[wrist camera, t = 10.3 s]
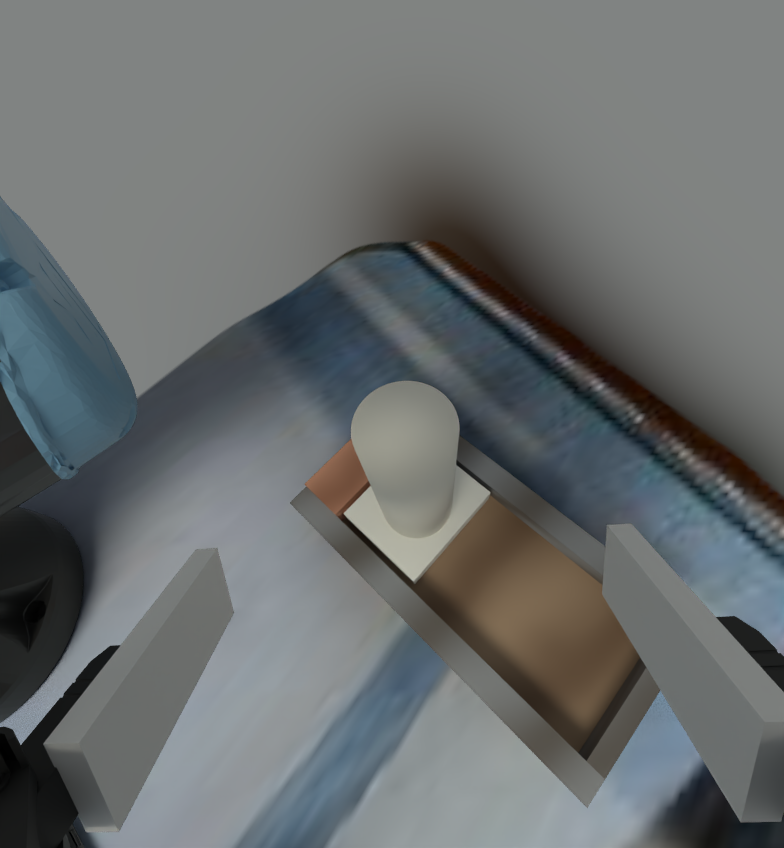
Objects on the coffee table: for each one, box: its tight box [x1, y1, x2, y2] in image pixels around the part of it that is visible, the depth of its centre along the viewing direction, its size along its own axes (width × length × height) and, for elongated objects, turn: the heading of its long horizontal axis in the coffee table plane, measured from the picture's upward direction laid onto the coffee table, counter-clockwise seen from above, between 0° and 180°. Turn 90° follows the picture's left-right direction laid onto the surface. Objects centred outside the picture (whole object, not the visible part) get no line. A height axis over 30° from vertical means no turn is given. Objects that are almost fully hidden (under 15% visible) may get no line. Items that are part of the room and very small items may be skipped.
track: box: [290, 435, 660, 808], centre depth 27 cm, size 22×11×4 cm, turn 47°
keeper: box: [344, 381, 491, 584], centre depth 23 cm, size 6×7×12 cm
